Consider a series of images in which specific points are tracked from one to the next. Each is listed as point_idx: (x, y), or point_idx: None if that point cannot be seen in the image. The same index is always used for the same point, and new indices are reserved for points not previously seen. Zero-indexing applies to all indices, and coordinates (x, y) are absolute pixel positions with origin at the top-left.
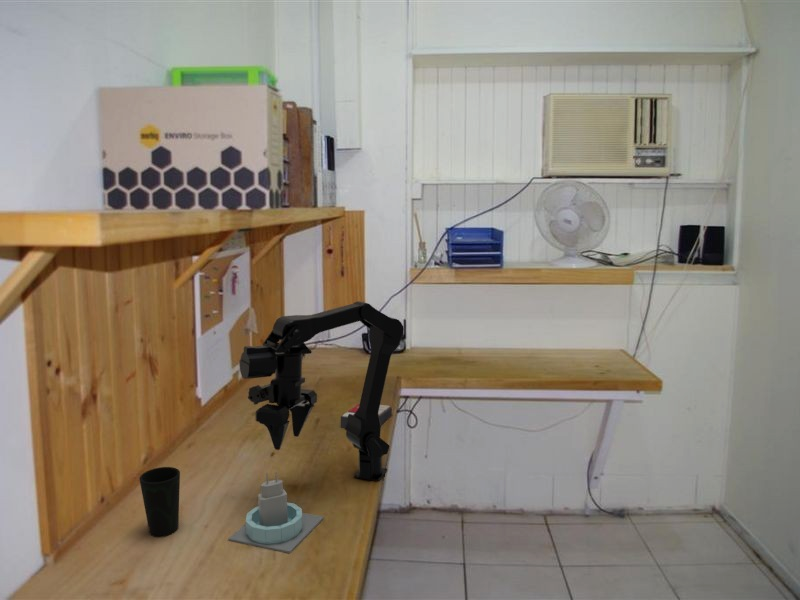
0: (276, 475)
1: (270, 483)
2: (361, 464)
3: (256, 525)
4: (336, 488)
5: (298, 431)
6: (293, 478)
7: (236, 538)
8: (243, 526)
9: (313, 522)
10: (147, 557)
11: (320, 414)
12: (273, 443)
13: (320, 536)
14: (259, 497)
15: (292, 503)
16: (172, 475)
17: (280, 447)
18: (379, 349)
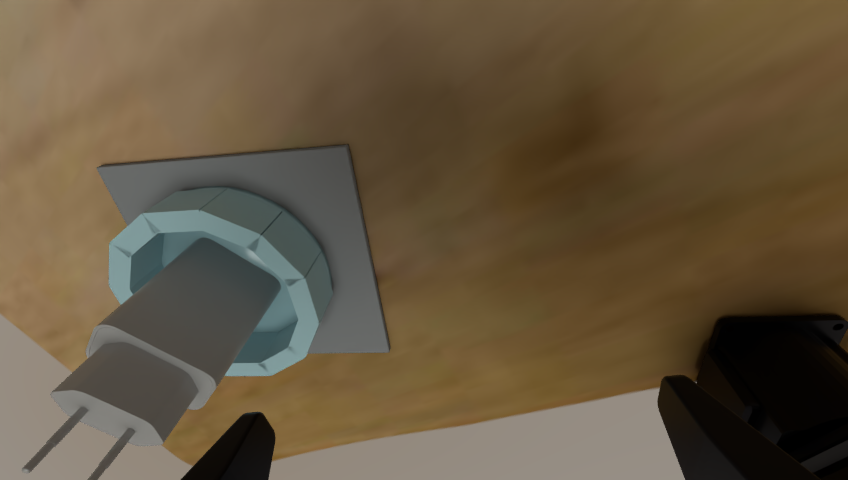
0: (102, 469)
1: (99, 417)
2: (737, 403)
3: (125, 291)
4: (607, 298)
5: (685, 465)
6: (674, 71)
7: (119, 193)
8: (180, 164)
9: (345, 342)
10: None
11: None
12: (196, 470)
13: (308, 374)
14: (91, 341)
15: (316, 316)
16: None
17: (266, 461)
18: None
